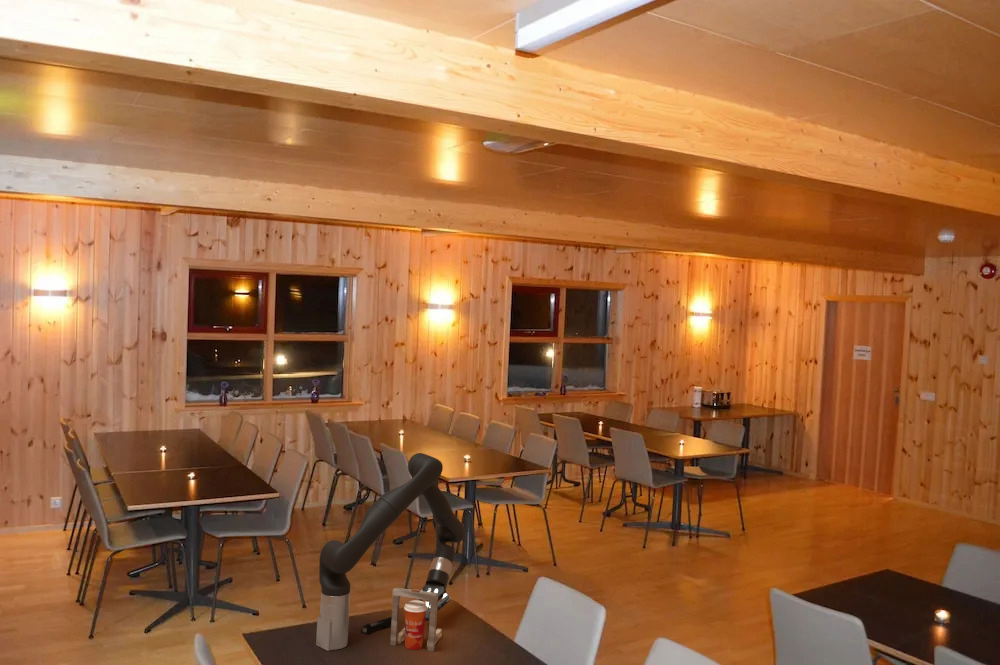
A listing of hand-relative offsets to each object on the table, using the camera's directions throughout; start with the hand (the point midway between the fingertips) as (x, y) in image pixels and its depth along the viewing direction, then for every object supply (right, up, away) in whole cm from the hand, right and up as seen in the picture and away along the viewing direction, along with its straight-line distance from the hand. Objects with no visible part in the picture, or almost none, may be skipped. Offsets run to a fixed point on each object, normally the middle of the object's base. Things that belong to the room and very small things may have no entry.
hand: (426, 620), depth 270 cm
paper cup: (-3, -5, -11) cm, 12 cm away
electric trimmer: (-16, -4, +3) cm, 17 cm away
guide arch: (-2, -5, -7) cm, 8 cm away
